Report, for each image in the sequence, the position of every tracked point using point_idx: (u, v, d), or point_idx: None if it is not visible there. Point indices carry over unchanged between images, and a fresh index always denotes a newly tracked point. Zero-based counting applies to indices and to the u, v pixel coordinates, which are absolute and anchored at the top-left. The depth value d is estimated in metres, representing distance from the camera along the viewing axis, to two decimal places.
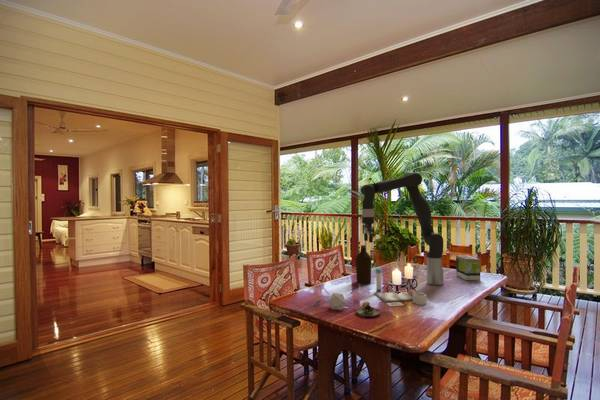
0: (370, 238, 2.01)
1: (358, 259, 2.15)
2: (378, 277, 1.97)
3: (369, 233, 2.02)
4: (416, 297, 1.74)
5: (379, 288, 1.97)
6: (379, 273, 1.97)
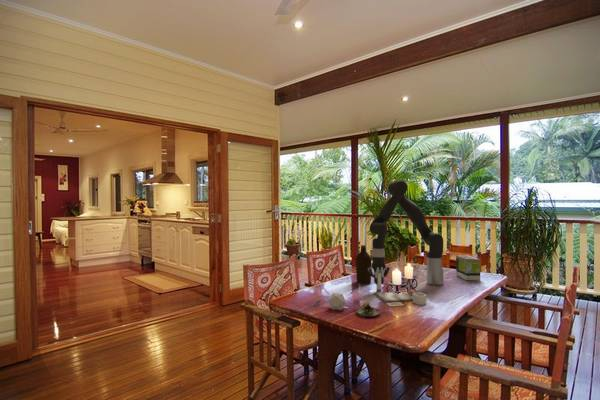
0: (383, 279, 1.98)
1: (358, 259, 2.15)
2: (378, 277, 1.97)
3: None
4: (416, 297, 1.74)
5: (379, 288, 1.97)
6: (379, 273, 1.97)
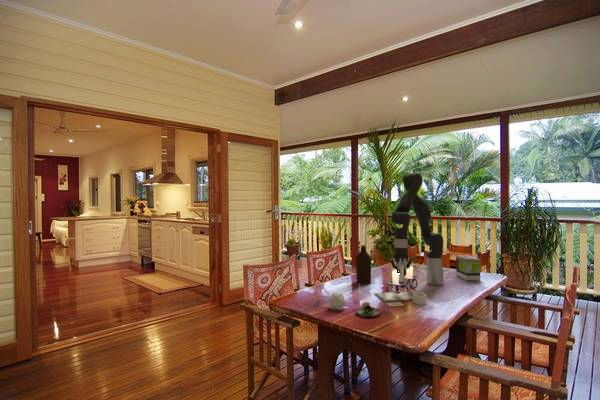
0: None
1: (358, 259, 2.15)
2: (401, 269, 1.89)
3: (406, 266, 1.89)
4: (416, 297, 1.74)
5: (402, 280, 1.89)
6: (402, 265, 1.89)
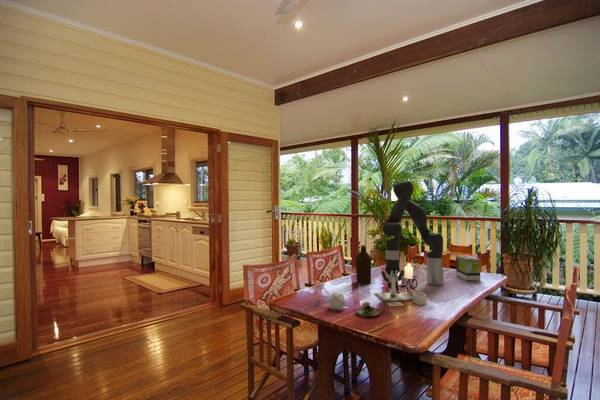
0: (397, 283, 1.84)
1: (358, 259, 2.15)
2: (392, 281, 1.83)
3: (397, 278, 1.84)
4: (416, 297, 1.74)
5: (393, 293, 1.83)
6: (393, 277, 1.83)
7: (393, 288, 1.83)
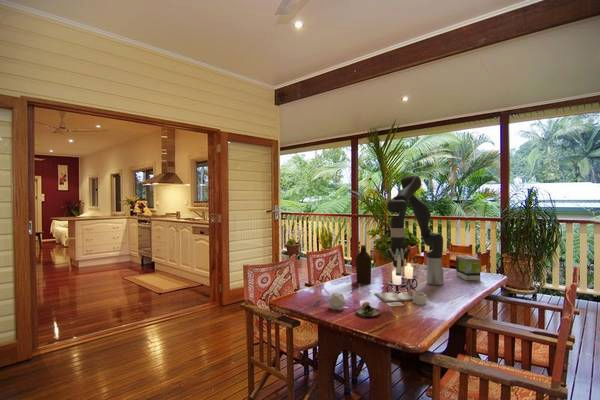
0: (403, 262, 1.81)
1: (358, 259, 2.15)
2: (397, 259, 1.79)
3: None
4: (416, 297, 1.74)
5: (399, 271, 1.79)
6: (399, 255, 1.79)
7: (399, 266, 1.79)
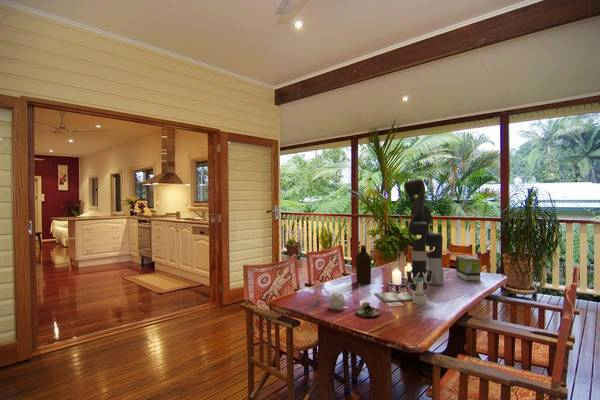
0: (426, 285, 1.76)
1: (358, 259, 2.15)
2: (419, 286, 1.75)
3: None
4: (416, 297, 1.74)
5: None
6: (420, 281, 1.74)
7: (420, 293, 1.75)
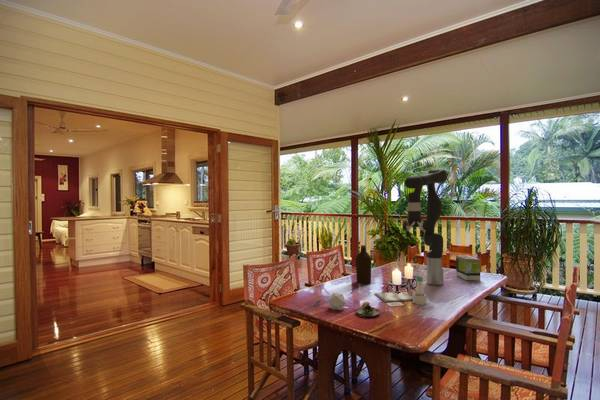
0: (423, 232, 1.94)
1: (358, 259, 2.15)
2: (419, 286, 1.75)
3: None
4: (416, 297, 1.74)
5: None
6: (420, 281, 1.75)
7: (420, 293, 1.75)
